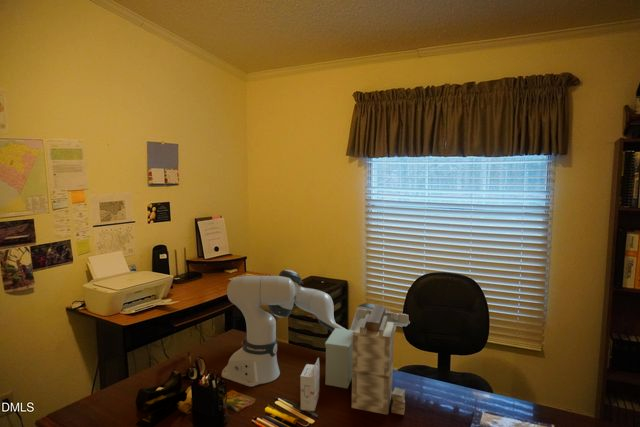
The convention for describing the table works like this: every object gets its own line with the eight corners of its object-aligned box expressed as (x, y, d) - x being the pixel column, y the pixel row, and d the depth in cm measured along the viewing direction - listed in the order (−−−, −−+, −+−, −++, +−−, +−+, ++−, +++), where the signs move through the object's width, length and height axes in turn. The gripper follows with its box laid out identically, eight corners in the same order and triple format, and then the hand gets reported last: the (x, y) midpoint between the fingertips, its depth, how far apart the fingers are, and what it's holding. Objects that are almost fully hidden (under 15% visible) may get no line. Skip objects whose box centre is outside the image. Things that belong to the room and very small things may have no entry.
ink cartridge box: (305, 395, 128) (306, 355, 127) (319, 397, 127) (320, 356, 126) (299, 410, 120) (299, 367, 119) (314, 412, 119) (314, 368, 118)
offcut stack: (391, 412, 119) (391, 395, 118) (392, 403, 124) (393, 386, 123) (404, 415, 118) (405, 397, 117) (405, 406, 123) (406, 389, 122)
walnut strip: (366, 330, 121) (366, 321, 121) (374, 312, 138) (374, 304, 138) (378, 331, 120) (378, 323, 120) (385, 313, 137) (385, 305, 137)
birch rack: (351, 407, 121) (353, 326, 119) (358, 387, 134) (360, 313, 131) (387, 414, 118) (390, 331, 116) (391, 392, 130) (394, 316, 128)
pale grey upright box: (324, 384, 135) (325, 343, 134) (334, 365, 149) (335, 327, 148) (348, 389, 132) (348, 346, 131) (356, 369, 147) (357, 330, 145)
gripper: (409, 331, 142) (408, 325, 130) (358, 325, 148) (352, 318, 136) (410, 315, 145) (409, 308, 133) (359, 309, 151) (354, 302, 139)
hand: (380, 313), depth 135 cm, fingers open, 8 cm apart
